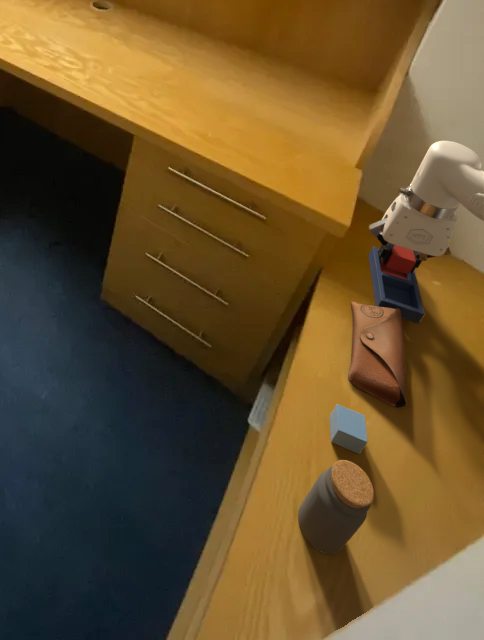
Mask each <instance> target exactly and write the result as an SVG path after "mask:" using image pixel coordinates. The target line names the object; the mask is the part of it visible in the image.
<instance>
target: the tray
mask: <svg viewBox="0 0 484 640" xmlns="http://www.w3.org/2000/svg"><path fill="white" fill-rule="evenodd" d="M379 249H380V247H376V246H372V248H371V249H370V252H369V254H368V262H369V268H370V276H371V281H372V288H373V295H374V296H373V297H374V302H375V306H379V307H387V308H393V309H396V308H398V309H400V311H401V318H402V319H403V320H407V321H410V322H413V323H415V324H420V322H421V321H422V320H423V318H424V317H425V315H426V314H425V310H424V305H423V302H422V297H421V293H420V288H419V283H418V279H417V275H416V269H415V270H414V272H413V273H411V272H410V273H409V274H406V273H402V272H399V271H396V270H393V269H390V268H386V265H385V264H382V260H381V257H380V256H379V254H378V252H379Z"/></svg>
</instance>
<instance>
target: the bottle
mask: <svg viewBox="0 0 484 640" xmlns="http://www.w3.org/2000/svg"><path fill="white" fill-rule="evenodd" d="M374 497H375V491H374V487H373V483H372V481H371V479H370V478H369V476H368V475H367V473H366V472H365V470H363V469H362V467H360V466H359V465H357V464H356V463H355V462H352V461H350V460H346V459H340V460H336V462H335V463H334V464H333V465H331V466H329V468H328V469H326V470H325V471H323V472H321V473H320V475H319V476H318V477H317V479H315V482H314V483H313V485H312V487H311V488H310V490H309V491H308V492H307V494H306V495H305V497H304V499H303V501H302V502H301V504H300V505H299V508H298V513H297V520H298V524H299V528H300V530H301V532H302V534H303V537H304V538H305V539H306V541H307V540H308V541H307V542H308V543H309V544H310V545H311V547H313V548H314V547H315V548H314V549H316V550H317V549H318V550H319V551H318V550H317V551H318V552H320V551H322V552H324V553H323V554H325V553H327V554H326V555H330V554H332V555H335V553H336V554H338V553H339V552H341V550H342V549H343V548H344V547H345V546H346V544H347V543H348V542H349V541H350V540H351V539H352V538H353V536H354V535H355V534H356V532H358V530H359V529H360V528H361V526H362V525H364V523H365V521H366V519H367V516H368V511H369V509H370V508H371V504H372V503H373V501H374ZM322 552H321V553H322Z"/></svg>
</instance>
